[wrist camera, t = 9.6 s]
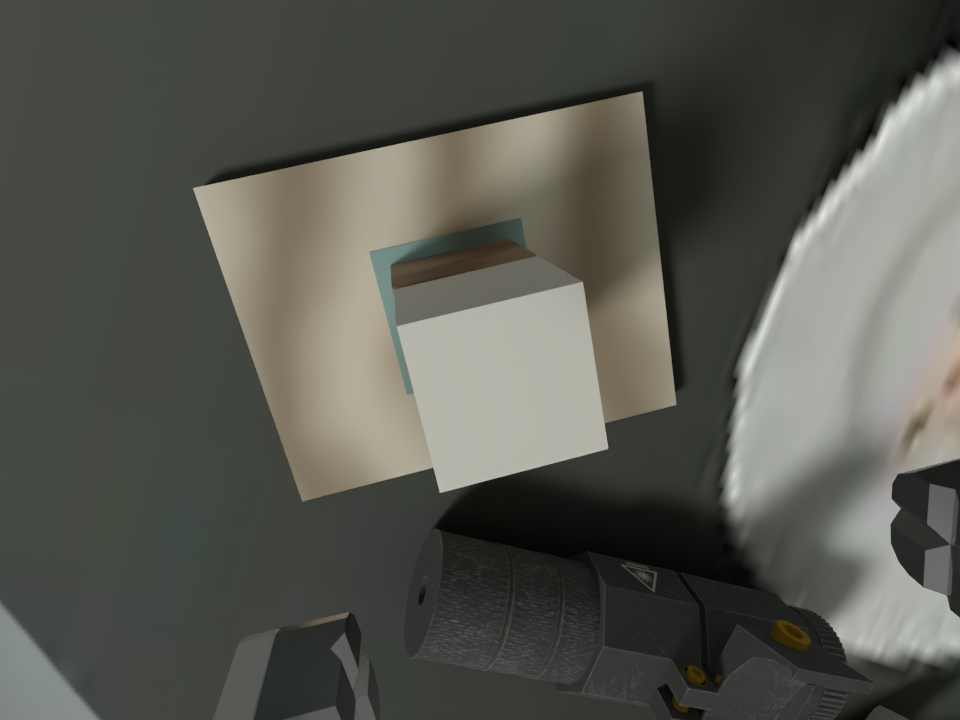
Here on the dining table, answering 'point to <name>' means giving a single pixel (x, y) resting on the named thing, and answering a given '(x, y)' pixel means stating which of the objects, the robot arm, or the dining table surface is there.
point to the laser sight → (625, 633)
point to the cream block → (501, 370)
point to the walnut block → (457, 262)
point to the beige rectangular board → (426, 232)
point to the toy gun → (884, 714)
